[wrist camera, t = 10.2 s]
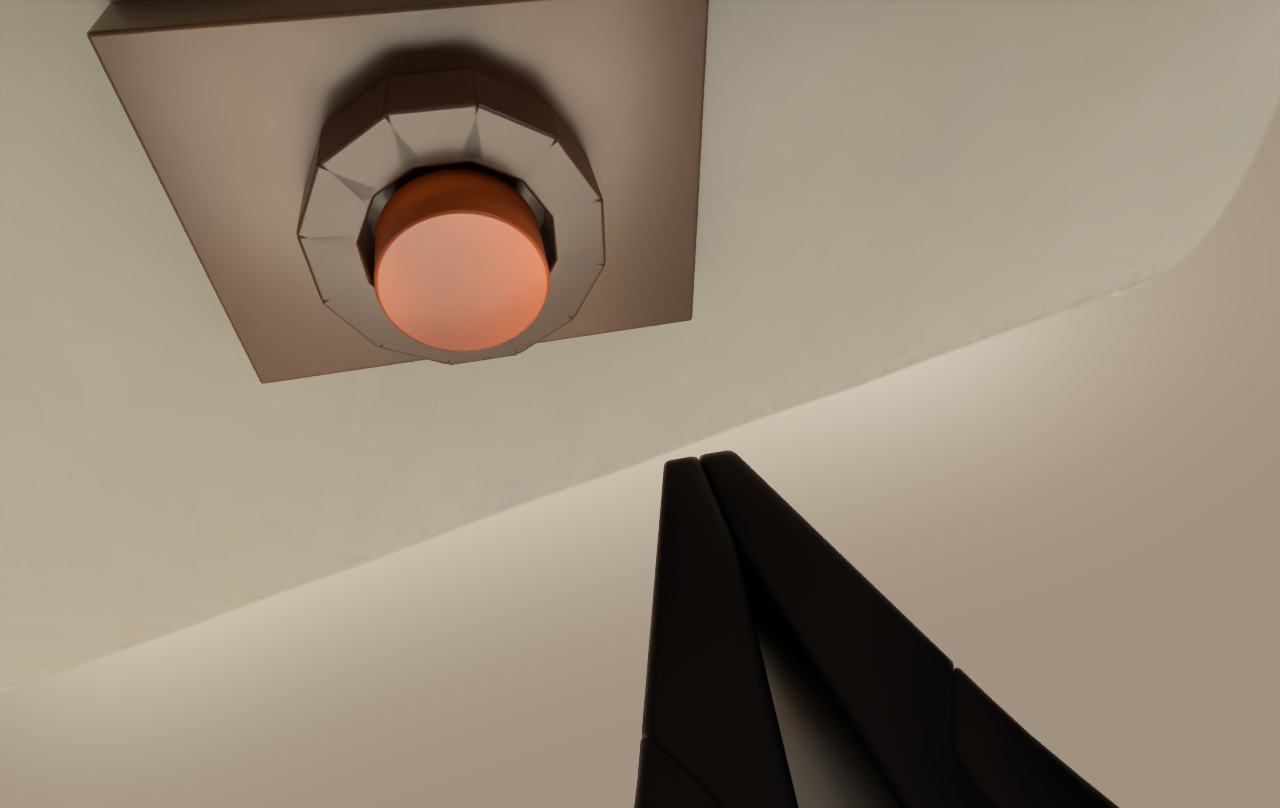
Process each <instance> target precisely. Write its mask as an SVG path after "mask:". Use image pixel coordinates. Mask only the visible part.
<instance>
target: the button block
mask: <svg viewBox="0 0 1280 808" xmlns="http://www.w3.org/2000/svg"><path fill="white" fill-rule="evenodd" d="M708 6H709V0H154V1H141V2H128V3H115V4H110V5H109V6H108V7H107V8H106V10H105V11H104V12H103V13H102V15H101V16H100V17H99V19H98V20H97V21H96V22H95V24H94V25H93V26H92V27H91V29H90V30H89V31H88V32H87V36H88V38H89V40H90V42H91V44H92V46H93V48H94V50H95V52H96V54H97V56H98V58H99V60H100V62H101V64H102V66H103V68H104V70H105V72H106V74H107V76H108V78H109V80H110V82H111V84H112V86H113V88H114V90H115V92H116V94H117V96H118V98H119V100H120V102H121V104H122V106H123V108H124V110H125V112H126V114H127V116H128V118H129V120H130V122H131V124H132V126H133V128H134V130H135V132H136V134H137V136H138V138H139V140H140V142H141V144H142V146H143V148H144V150H145V152H146V154H147V156H148V158H149V160H150V162H151V164H152V166H153V168H154V170H155V172H156V174H157V176H158V178H159V180H160V182H161V184H162V186H163V188H164V190H165V192H166V194H167V196H168V198H169V200H170V202H171V204H172V206H173V208H174V210H175V212H176V214H177V216H178V218H179V220H180V222H181V224H182V226H183V228H184V230H185V232H186V234H187V236H188V238H189V240H190V242H191V244H192V246H193V248H194V250H195V252H196V254H197V256H198V258H199V260H200V262H201V264H202V266H203V268H204V270H205V272H206V274H207V276H208V278H209V280H210V282H211V284H212V286H213V288H214V290H215V292H216V294H217V296H218V298H219V300H220V302H221V304H222V306H223V308H224V310H225V312H226V314H227V316H228V318H229V320H230V322H231V324H232V326H233V328H234V330H235V332H236V334H237V336H238V338H239V340H240V342H241V344H242V346H243V348H244V350H245V352H246V354H247V356H248V358H249V360H250V362H251V364H252V366H253V368H254V370H255V372H256V374H257V376H258V378H259V380H260V382H261V383H271V382H278V381H284V380H291V379H298V378H304V377H311V376H318V375H325V374H331V373H338V372H345V371H352V370H358V369H365V368H372V367H379V366H385V365H392V364H399V363H406V362H412V361H419V360H426V359H428V360H432V361H436V362H440V363H444V364H448V363H449V364H450V365H453V364H459V363H466V362H473V361H479V360H486V359H493V358H499V357H506V356H513V355H517V353H518V354H519V353H521V352H523V351H524V350H526V349H528V348H529V347H531V346H532V345H534V344H535V343H540V342H547V341H554V340H561V339H567V338H574V337H581V336H587V335H594V334H601V333H608V332H614V331H621V330H628V329H635V328H641V327H648V326H655V325H662V324H668V323H675V322H682V321H689V320H691V319H692V310H693V291H694V272H695V253H696V234H697V215H698V196H699V177H700V158H701V139H702V120H703V101H704V82H705V63H706V44H707V25H708ZM445 169H467V170H473V171H478V172H482V173H485V174H488V175H491V176H493V177H495V178H498V179H500V180H502V181H503V182H505V183H507V184H508V185H510V186H511V187H512V188H514V189H515V190H516V191H517V192H518V193H519V194H520V195H521V196H522V197H523V198H524V199H525V200H526V201H527V203H528V204H529V205H530V207H531V208H532V210H533V212H534V214H535V216H536V219H537V222H538V224H539V229H540V233H541V237H542V241H543V245H544V250H545V254H546V258H547V262H548V267H549V272H550V287H549V293H548V297H547V300H546V302H545V305H544V307H543V309H542V311H541V312H540V314H539V315H538V317H537V318H536V319H535V321H534V322H533V323H532V324H531V325H530V326H529V327H528V328H527V329H526V330H525V331H523V332H522V333H521V334H519V335H518V336H516V337H515V338H513V339H511V340H509V341H508V342H505V343H503V344H501V345H498V346H495V347H492V348H488V349H483V350H478V351H468V352H457V351H447V350H442V349H437V348H433V347H430V346H427V345H424V344H422V343H420V342H417V341H415V340H414V339H412V338H410V337H408V336H407V335H406V334H404V333H403V332H401V331H400V330H399V329H398V328H397V327H396V326H395V325H394V324H393V323H392V322H391V321H390V320H389V318H388V317H387V316H386V315H385V313H384V312H383V310H382V308H381V306H380V304H379V302H378V299H377V297H376V292H375V288H374V262H375V237H376V227H377V223H378V219H379V216H380V214H381V212H382V209H383V207H384V206H385V204H386V203H387V201H388V200H389V199H390V198H391V196H392V195H393V194H394V193H395V192H396V191H397V190H399V189H400V188H401V187H402V186H403V185H405V184H406V183H408V182H410V181H411V180H413V179H415V178H417V177H419V176H422V175H424V174H427V173H430V172H434V171H439V170H445Z"/></svg>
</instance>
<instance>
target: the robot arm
mask: <svg viewBox="0 0 1280 808" xmlns="http://www.w3.org/2000/svg"><path fill="white" fill-rule="evenodd" d="M661 497H662V498H661V508H660V520H659V532H658V544H657V556H656V568H655V580H654V593H653V605H652V617H651V629H650V641H649V653H648V664H647V677H646V689H645V701H644V713H643V725H642V740H641V744H640V756H639V768H638V779H637V789H636V796H635V805H634V808H1119V807H1118V806H1117V805H1115V804H1114V803H1113V802H1112V801H1110V800H1109V799H1108V798H1107V797H1105V796H1104V795H1103V794H1102V793H1100V792H1099V791H1098V790H1097V789H1095V788H1094V787H1093V786H1092V785H1091V784H1089V783H1088V782H1087V781H1085V780H1084V779H1083V778H1082V777H1080V776H1079V775H1078V774H1077V773H1076V772H1075V771H1073V770H1072V769H1071V768H1070V767H1069V766H1067V765H1066V764H1065V763H1064V762H1063V761H1061V760H1060V759H1059V758H1058V757H1057V756H1055V755H1054V754H1053V753H1052V752H1051V751H1049V750H1048V749H1047V748H1046V747H1045V746H1043V745H1042V744H1041V743H1040V742H1039V741H1037V740H1036V739H1035V738H1034V737H1032V736H1031V735H1030V734H1029V733H1028V732H1027V731H1026V730H1025V729H1024V728H1022V726H1020V725H1019V724H1018V723H1017V722H1016V721H1015V720H1014V719H1013V718H1012V717H1011V716H1010V715H1008V714H1007V713H1006V712H1005V711H1004V710H1003V709H1002V708H1001V707H1000V706H999V705H998V704H996V703H995V702H994V701H993V700H992V699H991V698H990V697H989V696H988V695H987V694H986V693H985V692H984V691H983V690H982V689H981V688H979V687H978V686H977V685H976V684H975V683H974V682H973V681H972V680H971V679H970V678H969V677H968V676H967V675H966V674H965V673H964V672H963V671H962V670H961V669H959V668H954V665H953V663H952V661H951V660H950V659H949V658H948V657H947V656H946V655H945V654H944V653H943V652H942V651H941V650H940V649H939V648H938V647H937V646H936V645H935V644H934V643H932V642H931V641H930V640H929V639H928V638H927V637H926V636H925V635H924V634H923V633H922V632H921V631H920V630H919V629H918V628H917V627H916V626H915V625H914V624H913V623H912V622H911V621H910V620H909V619H907V617H906V616H904V615H903V614H902V613H901V612H900V611H899V610H898V609H897V608H896V607H895V606H894V605H893V604H892V603H891V602H890V601H889V600H888V599H887V598H886V597H885V596H884V595H883V594H882V593H880V591H878V590H877V589H876V588H875V587H874V586H873V585H872V584H871V583H870V582H869V581H868V580H867V579H866V578H865V577H864V576H863V575H862V574H861V573H860V572H859V571H858V570H857V569H855V568H854V566H852V565H851V564H850V563H849V562H848V561H847V560H846V559H845V558H844V557H843V556H842V555H841V554H840V553H839V552H838V551H837V550H836V549H835V548H834V547H833V546H831V544H830V543H829V542H827V540H825V539H824V538H823V537H822V536H821V535H820V534H819V533H818V532H817V531H816V530H815V529H814V528H813V527H812V526H811V525H810V524H809V523H808V522H807V521H806V520H805V519H804V518H802V516H801V515H799V514H798V513H797V512H796V511H795V510H794V509H793V508H792V507H791V506H790V505H789V504H788V503H787V502H786V501H785V500H784V499H783V498H782V497H781V496H780V495H779V494H778V493H777V492H776V491H774V489H772V488H771V487H770V486H769V485H768V484H767V483H766V482H765V481H764V480H763V479H762V478H761V477H760V476H759V475H758V474H757V473H756V472H755V471H754V470H753V469H751V468H750V466H749V465H748V464H746V463H745V462H744V461H743V460H742V459H741V458H740V457H739V456H738V455H737V454H736V453H734V452H732V451H721V452H715V453H710V454H704V455H702V456H701V457H700V458H699V460H698V459H697V458H696V457H686V458H681V459H675V460H670V461H667V462H666V463H665V465H664V472H663V485H662V496H661ZM953 668H954V669H953Z"/></svg>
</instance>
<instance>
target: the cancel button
mask: <svg viewBox="0 0 1280 808" xmlns="http://www.w3.org/2000/svg"><path fill="white" fill-rule="evenodd" d="M549 287H550V272H549V267H548V262H547V258H546V254H545V250H544V245H543V241H542V237H541V233H540V229H539V224H538V222H537V219H536V216H535V214H534V212H533V210H532V208H531V207H530V205H529V204H528V203H527V201H526V200H525V199H524V198H523V197H522V196H521V195H520V194H519V193H518V192H517V191H516V190H515V189H514V188H512V187H511V186H510V185H508V184H507V183H505V182H503V181H502V180H500V179H498V178H495V177H493V176H491V175H488V174H485V173H482V172H478V171H473V170H467V169H445V170H439V171H434V172H430V173H427V174H424V175H422V176H419V177H417V178H415V179H413V180H411V181H410V182H408V183H406V184H405V185H403V186H402V187H401V188H400V189H399V190H397V191H396V192H395V193H394V194H393V195H392V196H391V198H390V199H389V200H388V201H387V203H386V204H385V206H384V207H383V209H382V212H381V214H380V216H379V219H378V223H377V227H376V237H375V262H374V288H375V292H376V297H377V299H378V302H379V304H380V306H381V308H382V310H383V312H384V313H385V315H386V316H387V317H388V318H389V320H390V321H391V322H392V323H393V324H394V325H395V326H396V327H397V328H398V329H399V330H400V331H401V332H403V333H404V334H406V335H407V336H408V337H410V338H412V339H414V340H415V341H417V342H420V343H422V344H424V345H427V346H430V347H433V348H437V349H442V350H447V351H457V352H468V351H478V350H483V349H488V348H492V347H495V346H498V345H501V344H503V343H505V342H508V341H509V340H511V339H513V338H515V337H516V336H518V335H519V334H521V333H522V332H523V331H525V330H526V329H527V328H528V327H529V326H530V325H531V324H532V323H533V322H534V321H535V319H536V318H537V317H538V315H539V314H540V312H541V311H542V309H543V307H544V305H545V302H546V300H547V297H548V293H549Z"/></svg>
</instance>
